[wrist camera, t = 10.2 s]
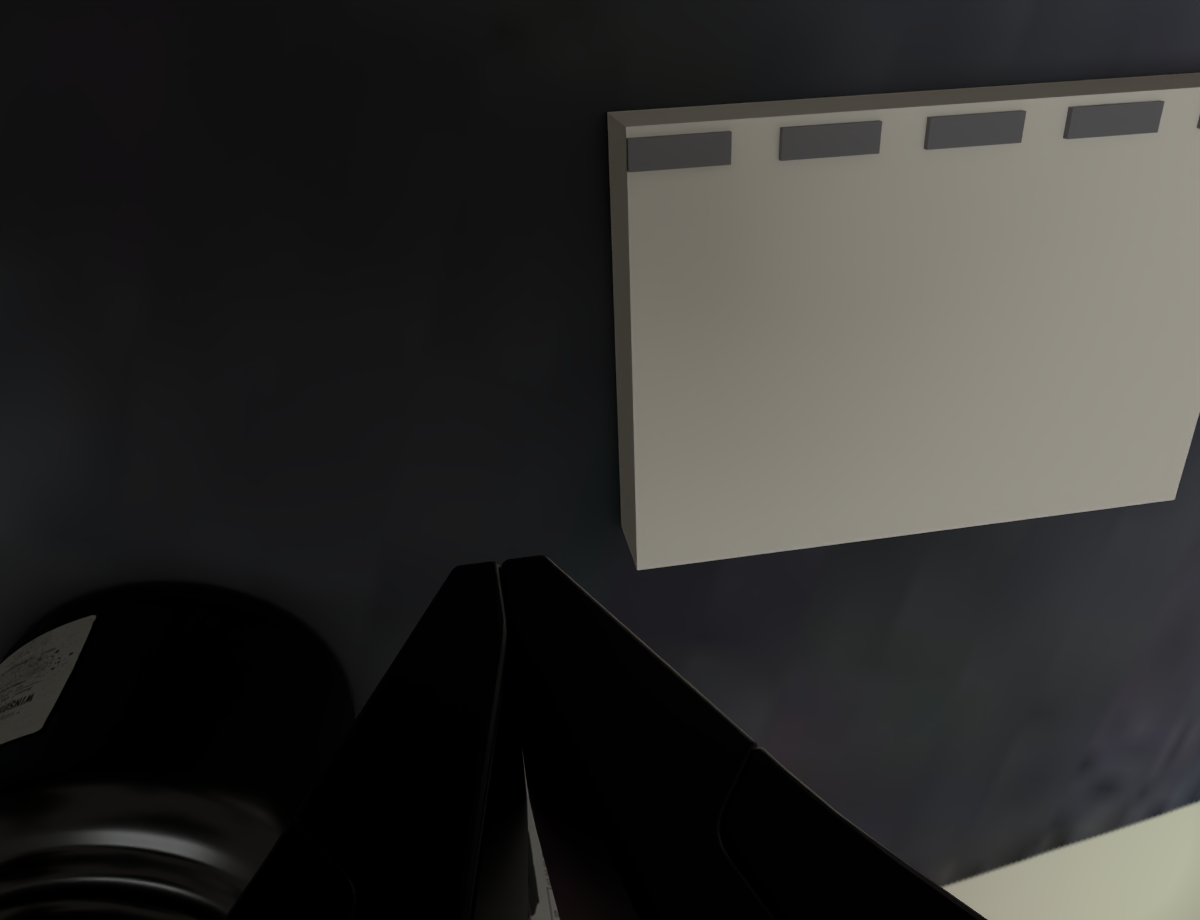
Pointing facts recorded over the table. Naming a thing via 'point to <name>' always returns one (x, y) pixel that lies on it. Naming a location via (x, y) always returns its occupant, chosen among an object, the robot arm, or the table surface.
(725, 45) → the table surface
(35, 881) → the ink bottle
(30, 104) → the table surface
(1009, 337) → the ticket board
